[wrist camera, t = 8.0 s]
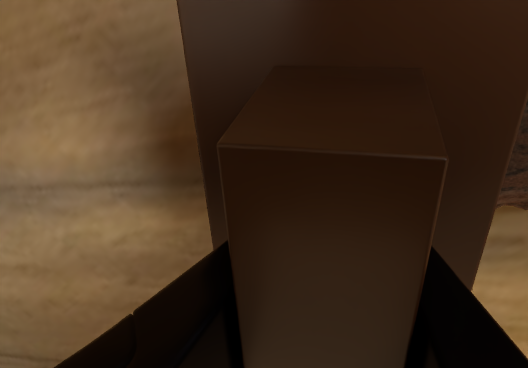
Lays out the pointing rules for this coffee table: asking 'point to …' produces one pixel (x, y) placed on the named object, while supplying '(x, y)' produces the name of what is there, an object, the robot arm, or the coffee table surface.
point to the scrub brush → (350, 160)
